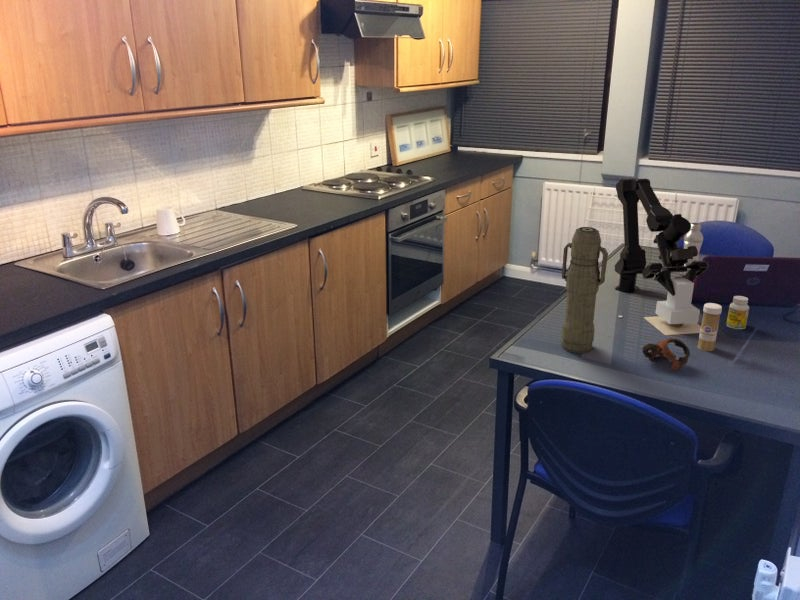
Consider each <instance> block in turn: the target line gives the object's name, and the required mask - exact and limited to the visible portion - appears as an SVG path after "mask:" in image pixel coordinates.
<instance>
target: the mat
mask: <svg viewBox="0 0 800 600" xmlns="http://www.w3.org/2000/svg"><path fill="white" fill-rule="evenodd" d="M643 319H644V320H646V321H647V322H648V323H650V324H651V325H652V326H653V327H654V328H656V329H657V330H658V331H659V332H661V333H662V334H663V335H664V336H671V335H673V336H674V335H686V334H688V335H690V334H700V329H701V324H699V323H683V325H682V326H681V327H674V326H671V325H669V323H667V322H666V321H665V320H664V319H662V318H661V317H660V316H658V315H657V316H644V317H643Z"/></svg>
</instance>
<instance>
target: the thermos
mask: <svg viewBox="0 0 800 600" xmlns="http://www.w3.org/2000/svg"><path fill="white" fill-rule="evenodd" d="M601 244H602V239H601V235H600V231H599V229H596V228H595V227H591V226H582V227H578V228H577V229H575V231H574V233H573V235H572V238H571V242H568V243H567V244H566V245H565V246H564V247H563V255H562V268H561V269H562V270H561V279H562V280H564V281H565V289H566V302H565V303H566V304H565V313H564V314H565V315H564V323H563V326H562V327H561V347H562V348H563V349H564V350H565V351H567V352H571V353H576V354H577V353H579V354H586V353H588V352H591V351H592V349H593V343H594V340H595V330H596V329H595V323H594V319H595V309H596V300H597V293H598V292H599V287H600V286H602V284H604V283H605V282H606V281H605V280H606V272H607V264H608V259H609V257H608V256H609V252H608V250H607V249H606V248H605V247H602V246H601ZM568 249H570V257H571V258H570V260H569V266H568V269H567V260H568ZM601 254H602V261H601V269H600V267H599V266H600V264H599V263H600V262H599V259H600V255H601ZM600 270H601V271H600Z"/></svg>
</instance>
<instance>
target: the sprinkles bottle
mask: <svg viewBox="0 0 800 600" xmlns="http://www.w3.org/2000/svg"><path fill="white" fill-rule="evenodd" d="M722 311H723V307H722V305H721V304H718V303H714V302H706V303H704V305H703V311H702V312H703V314H702V320H701V324H700V326H701V329H700V333H699V335H698V342H697V343H698V344H697V346H696V347H697V349H699V350H701V351H704V352H712V351H714V350H715V347H716V346H715V345H716V341H717V337H718V336H717V335H718V331H719V323H720V318H721V317H720V316H721V314H722Z"/></svg>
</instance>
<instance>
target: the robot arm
mask: <svg viewBox="0 0 800 600" xmlns="http://www.w3.org/2000/svg"><path fill="white" fill-rule="evenodd" d="M615 191H616V194H617V195H616V196H617V199H618V200H619V202H620V203H621V205H622V214H623V217H622V218H623V219H622V220H623V238H624V246H623V248H622V250H621V252H620V254H619V260H618V261H617V262H616V263H615V264H614V272H615V273H617V274H618V275H619V280H618V285H616V287H614V289H615V290H617V291H623V292H626V293H630V294H631V293H632V294H633V293H634V292H636V291H637V290H638V289H640V286H637V279H638V278H637V277H638V275H642V277H643V280H647V279H650V280H651V279H653V281H655V282H658V284H660V285H661V286H662V287H664V289H666V291H667V293H668V292H669V293H670V294H671V295H672V296H674V295H675V290H674V287H673V284H672V280H671V279H672V276H671V275H672V273H680V272H683V273H684V275H682V277H681V278H686V279H688V280H690V281H691V282H693V283H694V279H695V277H700V276H701V275H703V273H705V272H706V271H707V270H709V268H710V266H709V264H708V263H709V262H707V261H705V260H698V261H693V262H692V263H691V264H690V265H685V266H684V263H687V262H688V259H693V257H695V256H697V255H698V250H697V248H696V246H690V247H688V248H687V249H684V248H683V247H679V242H680V241H681V240H682V239H684V236H685V235H686V234H687V233H688V232H689V231H690V229H691V223H692V222H690V221H689V220H688V219H687V218H686V217H683V215H682V214H681V213H675V214H674V215H673V213H672V212H671V211H670V210H669V209H668V208H666V207H664V206H663V205H662V204H661V202H660V200H659V199H658V196H657V195H656V193H655V191H654V190H653V187H652V185H651V180H650V179H648V178H646V177H645V178H621V179H619V180H618V182H616V184H615ZM639 201H640V204H641V205H642V207H643V209H644V210H645V212H646V216H647V217H646V218H645V219H646V220H645V222H646V225H647V228H648V229H649V231H650V232H651V233H653V232H655V233H656V232H657V233H658V232H659V233H658V234H655V236H654V239H653V244H656V245H657V248H658V252H659V256H658V259H659V260H661V262H662V263H661V262H651V263H648V264H647V258H646V256H647V255H646V250H645V249H643V248H642V246H641V245H640V232H639V227H640V226H639V211H638V210H639V209H638V205H639V204H638V203H639Z"/></svg>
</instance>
